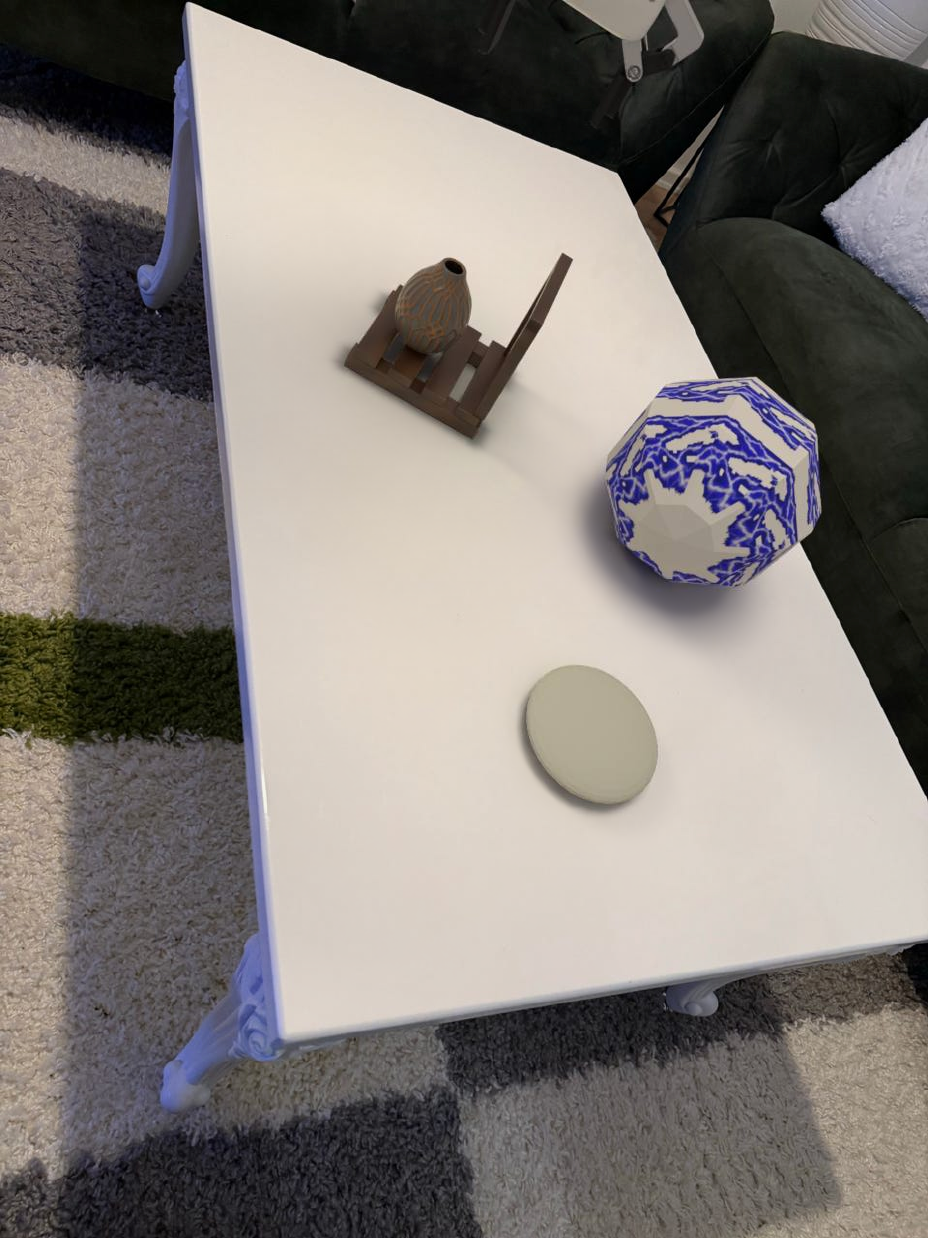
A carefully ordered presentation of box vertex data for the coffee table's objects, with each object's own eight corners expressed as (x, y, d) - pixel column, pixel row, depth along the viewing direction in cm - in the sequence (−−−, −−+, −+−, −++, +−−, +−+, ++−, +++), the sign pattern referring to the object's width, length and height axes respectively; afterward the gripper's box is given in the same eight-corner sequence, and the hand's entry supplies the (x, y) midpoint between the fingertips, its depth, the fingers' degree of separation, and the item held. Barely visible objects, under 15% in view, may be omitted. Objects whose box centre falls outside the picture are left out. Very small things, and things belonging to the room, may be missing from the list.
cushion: (613, 840, 69) (634, 828, 66) (492, 743, 69) (509, 727, 66) (666, 735, 76) (686, 721, 74) (558, 647, 76) (575, 630, 74)
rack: (343, 364, 83) (395, 236, 72) (388, 300, 91) (441, 175, 80) (472, 439, 85) (542, 325, 74) (505, 370, 93) (574, 257, 81)
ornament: (588, 403, 72) (675, 310, 84) (554, 580, 86) (633, 478, 98) (828, 489, 65) (884, 376, 78) (749, 665, 80) (807, 545, 92)
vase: (389, 303, 87) (421, 228, 80) (454, 328, 89) (490, 257, 82) (382, 350, 83) (415, 275, 76) (450, 374, 85) (488, 304, 78)
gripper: (794, -117, 57) (646, 128, 70) (566, -283, 55) (457, 3, 68) (786, -90, 52) (629, 167, 66) (537, -271, 50) (426, 34, 63)
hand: (542, 83), depth 67 cm, fingers open, 9 cm apart
